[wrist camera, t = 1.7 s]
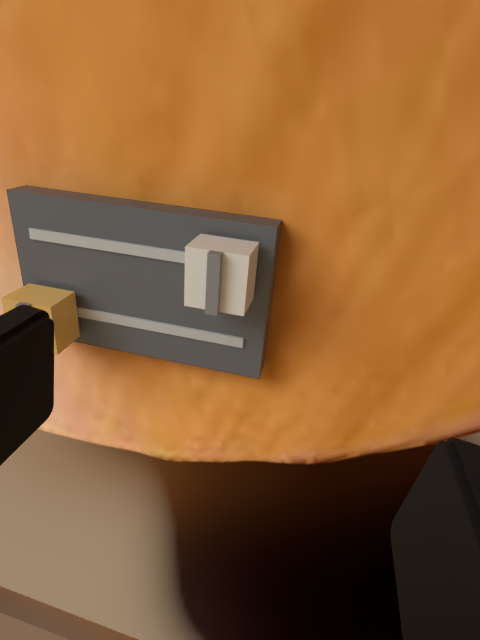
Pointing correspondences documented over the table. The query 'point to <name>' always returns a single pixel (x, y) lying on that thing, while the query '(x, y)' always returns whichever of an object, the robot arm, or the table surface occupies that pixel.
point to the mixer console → (142, 274)
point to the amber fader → (50, 310)
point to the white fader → (220, 274)
